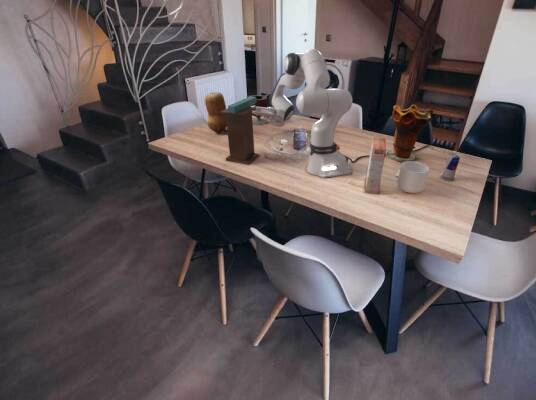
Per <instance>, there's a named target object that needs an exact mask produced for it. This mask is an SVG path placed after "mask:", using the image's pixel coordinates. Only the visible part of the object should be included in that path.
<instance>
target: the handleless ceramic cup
mask: <svg viewBox="0 0 536 400" xmlns="http://www.w3.org/2000/svg"><path fill="white" fill-rule="evenodd" d="M429 172H430V167H429V166H428V165H426V164H425V163H423V162H419V161H415V160H414V161H406V162H404V161H402V163H400V167H399V172H398V176H397V180H396V181H397V182H396V184H397V187H398V189H400V190H401V191H403V192H405V193H408V194H418V193H420V192H422V191H423V190H424V189H425V186H426V183H427V179H428V175H429Z"/></svg>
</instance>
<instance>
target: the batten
mask: <svg viewBox="0 0 536 400" xmlns="http://www.w3.org/2000/svg"><path fill="white" fill-rule="evenodd" d="M249 96H250V97H249ZM249 96H248V97H245V98H243V99H241V100H238V101H236V102H234V103H231V104H229V105H227V108H228V112H230V113H236V112H238V111H240V110H242V109H245V108H247V107H249V106H251V105H253V104H255V103H256V97H251V96H252V95H249Z"/></svg>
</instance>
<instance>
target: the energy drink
mask: <svg viewBox="0 0 536 400" xmlns="http://www.w3.org/2000/svg"><path fill="white" fill-rule="evenodd" d="M460 159H461V156H460V155H459V154H458V153H453V152H451V153H448V155H447V157H446V161H445V164H444V167H443V171H442V174H441V178H442V179H443V180H444V181H445V180H446V181H453V180H454V178H455V175H456V172H457V168H458V165H459V162H460Z"/></svg>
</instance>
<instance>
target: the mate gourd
mask: <svg viewBox="0 0 536 400" xmlns="http://www.w3.org/2000/svg"><path fill="white" fill-rule="evenodd" d="M250 96H251V97H256V103H255V104H253V105H251V106H257V107H265V108H268V107H269V100H268V96H270V93H268V94H264V95H262V94H261V95H260V94H258V95H255V94H254V95H249V96H248V97H250ZM251 106H249V107H251ZM252 117H255V118H252V122H253V125H256V126H257V125H258V126H259V125H266V124H268V121H266V120H265V119H264V118H262V116H260V115H255V114H253V113H252Z"/></svg>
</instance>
